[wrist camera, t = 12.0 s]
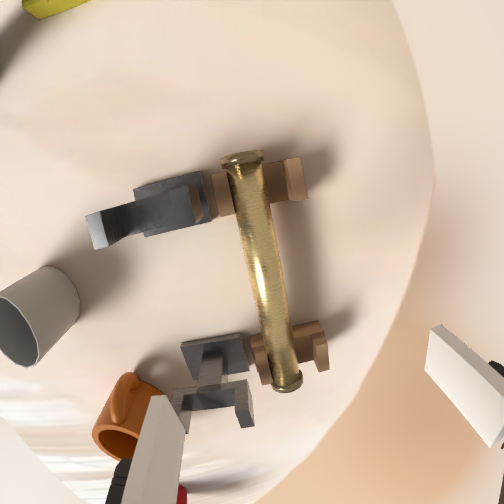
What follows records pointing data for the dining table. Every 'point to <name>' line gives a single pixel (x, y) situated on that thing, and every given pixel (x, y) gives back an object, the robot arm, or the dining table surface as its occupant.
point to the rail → (264, 266)
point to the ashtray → (49, 6)
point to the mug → (123, 417)
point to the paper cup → (181, 495)
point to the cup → (36, 314)
